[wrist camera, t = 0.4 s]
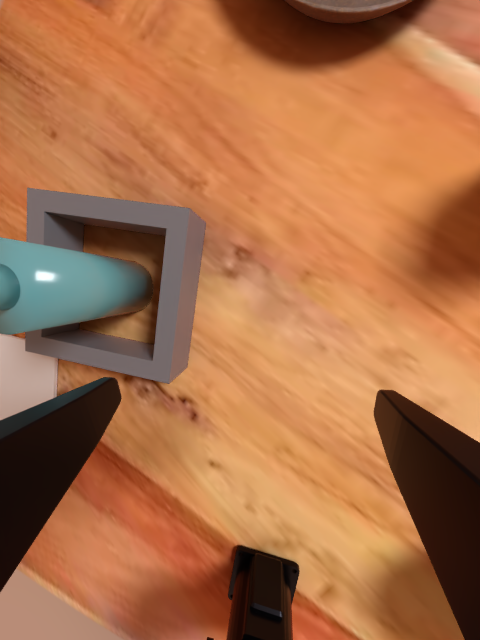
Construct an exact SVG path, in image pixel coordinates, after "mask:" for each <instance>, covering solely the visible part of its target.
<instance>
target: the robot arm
mask: <svg viewBox="0 0 480 640" xmlns="http://www.w3.org/2000/svg"><path fill="white" fill-rule="evenodd" d="M120 402H121V393H120V389H119V385H118V382H117V380H116V379H115V378H112V377H103V378H101V379H98V380H96V381H93V382H91V383H89V384H86V385H84V386H81V387H79V388H77V389H74V390H72V391H69V392H67V393H65V394H62V395H60V396H57V397H55V398H53V399H50V400H48V401H45V402H43V403H41V404H38V405H36V406H33V407H31V408H29V409H26V410H24V411H21V412H19V413H17V414H14V415H12V416H9V417H7V418H5V419H2V420H0V592H1V590H2V589H3V587H4V586H5V584H6V583H7V581H8V580H9V578H10V577H11V575H12V574H13V572H14V571H15V569H16V568H17V566H18V565H19V563H20V562H21V560H22V558H23V557H24V555H25V554H26V552H27V551H28V549H29V548H30V546H31V545H32V543H33V542H34V540H35V539H36V537H37V536H38V534H39V533H40V531H41V530H42V528H43V527H44V525H45V523H46V522H47V520H48V519H49V517H50V516H51V514H52V513H53V511H54V510H55V508H56V507H57V505H58V504H59V502H60V501H61V499H62V498H63V496H64V495H65V493H66V492H67V490H68V488H69V487H70V485H71V484H72V482H73V481H74V479H75V478H76V476H77V475H78V473H79V472H80V470H81V469H82V467H83V466H84V464H85V463H86V461H87V460H88V458H89V457H90V455H91V453H92V452H93V450H94V449H95V447H96V446H97V444H98V443H99V441H100V439H101V437H102V436H103V434H104V432H105V430H106V428H107V426H108V425H109V423H110V421H111V419H112V417H113V415H114V413H115V412H116V410H117V408H118V406H119V404H120ZM374 418H375V421H376V425H377V428H378V431H379V434H380V437H381V440H382V444H383V447H384V450H385V453H386V456H387V459H388V462H389V465H390V468H391V471H392V473H393V475H394V478H395V480H396V482H397V485H398V487H399V489H400V492H401V494H402V496H403V499H404V501H405V503H406V505H407V508H408V510H409V512H410V515H411V517H412V519H413V522H414V524H415V526H416V528H417V531H418V533H419V535H420V538H421V540H422V542H423V545H424V547H425V549H426V551H427V554H428V556H429V558H430V561H431V563H432V565H433V568H434V570H435V572H436V574H437V577H438V579H439V581H440V584H441V586H442V588H443V591H444V593H445V595H446V597H447V600H448V602H449V604H450V607H451V609H452V611H453V614H454V616H455V618H456V620H457V623H458V625H459V627H460V630H461V632H462V634H463V637H464V639H465V640H480V443H479V442H478V441H476V440H474V439H473V438H471V437H469V436H468V435H466V434H465V433H463V432H461V431H460V430H458V429H456V428H455V427H453V426H451V425H450V424H448V423H446V422H445V421H443V420H442V419H440V418H438V417H437V416H435V415H433V414H432V413H430V412H428V411H427V410H425V409H423V408H422V407H420V406H419V405H417V404H415V403H414V402H412V401H410V400H409V399H407V398H405V397H404V396H402V395H401V394H399V393H397V392H396V391H393V390H379V391H378V392H377V396H376V402H375V407H374ZM298 576H299V565H298V564H297V563H294V562H291V561H288V560H285V559H281V558H278V557H275V556H272V555H268V554H265V553H262V552H259V551H255V550H252V549H249V548H246V547H242V546H239V547H237V550H236V555H235V561H234V566H233V571H232V577H231V582H230V587H229V593H228V597H229V599H231V600H232V605H231V612H230V619H229V626H228V633H227V640H293V633H292V610H291V605H292V601H293V597H294V593H295V589H296V585H297V580H298ZM207 640H214V638H209V637H207Z"/></svg>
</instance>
